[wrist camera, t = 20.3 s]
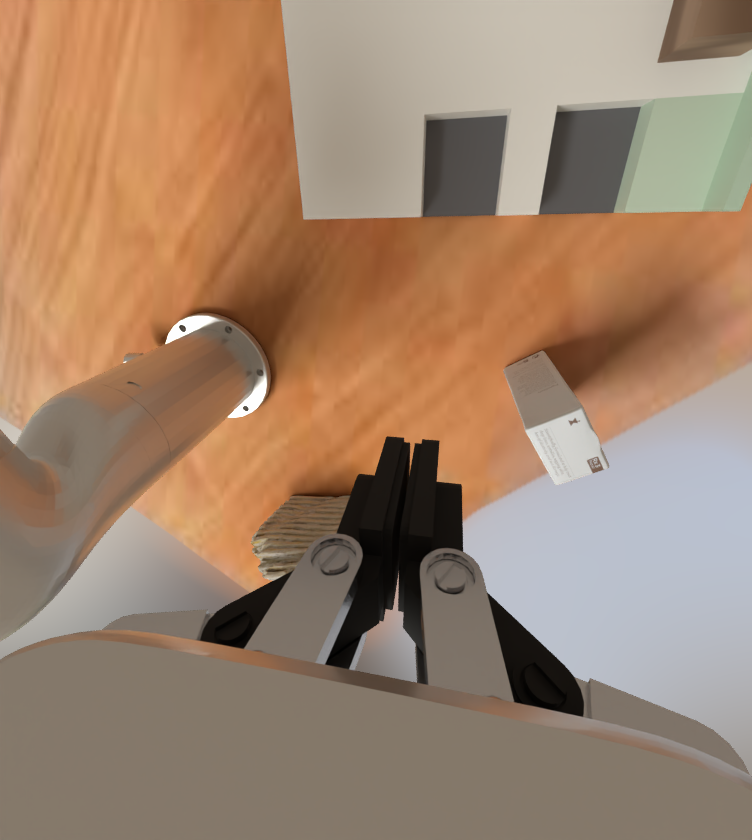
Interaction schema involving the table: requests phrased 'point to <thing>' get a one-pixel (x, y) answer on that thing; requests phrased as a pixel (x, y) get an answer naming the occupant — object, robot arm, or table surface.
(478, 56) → the board
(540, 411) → the skincare box
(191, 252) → the table surface
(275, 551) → the fossil tooth
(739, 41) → the walnut block
